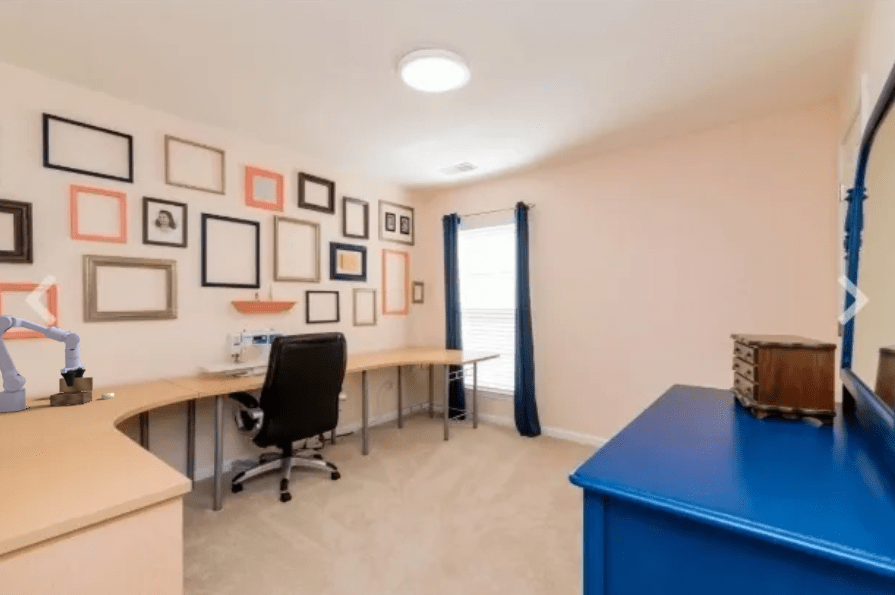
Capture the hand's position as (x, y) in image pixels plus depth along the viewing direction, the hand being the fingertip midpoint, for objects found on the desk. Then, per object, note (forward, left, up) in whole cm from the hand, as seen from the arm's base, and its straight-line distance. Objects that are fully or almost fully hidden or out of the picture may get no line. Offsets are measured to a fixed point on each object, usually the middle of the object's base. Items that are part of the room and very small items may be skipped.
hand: (73, 385), depth 208 cm
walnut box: (0, -1, -9) cm, 9 cm away
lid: (0, +2, 0) cm, 2 cm away
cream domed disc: (+11, +7, -9) cm, 16 cm away
